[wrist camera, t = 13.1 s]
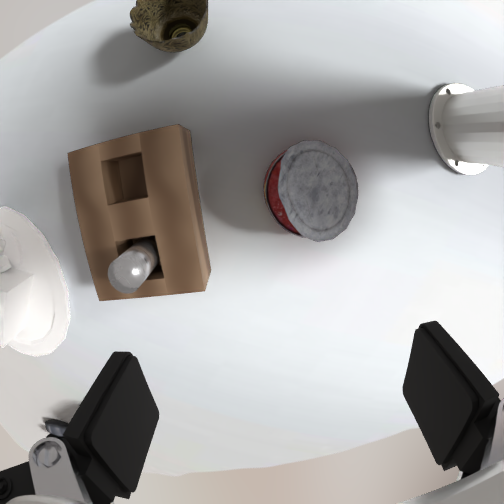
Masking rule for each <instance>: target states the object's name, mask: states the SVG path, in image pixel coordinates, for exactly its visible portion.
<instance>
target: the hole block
mask: <svg viewBox="0 0 504 504" xmlns="http://www.w3.org/2000/svg"><path fill="white" fill-rule="evenodd" d="M68 161H69V169H70V176H71V182H72V189H73V195H74V200H75V206H76V211H77V216H78V221H79V226H80V230H81V235H82V239H83V244H84V248H85V252H86V256H87V260H88V263H89V267H90V271H91V274H92V278H93V281H94V285H95V288H96V292H97V295H98V298H99V301H107V300H119V299H130V298H142V297H152V296H163V295H173V294H183V293H192V292H202V291H205V289H206V286H207V282H208V279H209V276H210V272H211V266H210V261H209V255H208V249H207V243H206V237H205V231H204V225H203V218H202V212H201V206H200V199H199V192H198V186H197V179H196V172H195V165H194V157H193V150H192V142H191V134H190V130H188V129H186V128H184V127H183V126H181V125H179V124H177V125H172V126H167V127H162V128H157V129H153V130H149V131H144V132H140V133H136V134H132V135H128V136H124V137H120V138H116V139H113V140H109V141H106V142H102V143H99V144H95V145H92V146H89V147H85V148H82V149H79V150H76V151H73V152H70V153H68ZM152 235H155V237H156V242H157V247H158V252H159V257H160V262H159V263H158V264H157V266H156V267H155V268H154V269H153V271H152V272H151V273H150V274H149V276H148V277H147V278H146V279H145V281H144V282H143V283H142V284H141V286H140V287H139V288H138V289H137V290H136V291H135V292H133V293H129V294H126V293H121V292H119V291H117V290H116V289H115V288H114V287H113V286H112V285H111V283H110V281H109V278H108V268H109V266H110V264H111V263H112V262H113V261H114V260H115V259H116V258H118V257H119V256H120V255H121V254H123V253H124V252H125V251H126V250H127V249H129V248H130V247H131V246H132V245H134V244H135V243H136V242H137V241H139V240H140V239H141V238H142V237H146V236H152Z"/></svg>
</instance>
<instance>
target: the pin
mask: <svg viewBox="0 0 504 504" xmlns="http://www.w3.org/2000/svg"><path fill="white" fill-rule="evenodd" d="M159 262H160V257H159V252H158V247H157V242H156V237H155V235H152V236H146V237H142V238H141V239H140V240H139V241H137V242H136V243H135V244H134V245H132V246H131V247H130V248H129V249H127V250H126V251H125V252H124V253H123V254H121V255H120V256H119V257H118V258H116V259H115V260H114V261H113V262H112V263H111V264H110V266H109V268H108V278H109V281H110V283H111V285H112V286H113V287H114V288H115V289H116V290H117V291H119V292H121V293H126V294H129V293H133V292H135V291H136V290H137V289H138V288H139V287H140V286H141V284H142V283H143V282H144V281H145V279H146V278H147V277H148V276H149V274H150V273H151V272H152V271H153V269H154V268H155V267H156V266H157V264H158V263H159Z"/></svg>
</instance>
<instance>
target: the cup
mask: <svg viewBox="0 0 504 504" xmlns="http://www.w3.org/2000/svg"><path fill="white" fill-rule="evenodd" d="M130 18H131V20H132V22H131V24H130V26H131V27H132V28H133V29H134V30H135V32H134V33H135V34H136V35H137V36H138V37H140V38H141V39H143V40H144V41H146V42H147V43H149V44H150V45H152V46H154V47H155V48H157V49H159V50H162V51H166V52H179V51H183V50H186V49H188V48H190V47H192V46H194V45H195V44H196V43H197V42H198V41H199V40H200V39H201V38H202V37H203V35H204V33H205V31H206V28H207V23H208V0H137V1H136V6H135V7H133V8H132V10H131V11H130ZM182 32H186V34H184V35H182V36H181V37H177V35H178V34H180V33H182ZM176 37H177V38H176Z"/></svg>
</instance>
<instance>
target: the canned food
mask: <svg viewBox="0 0 504 504" xmlns="http://www.w3.org/2000/svg"><path fill="white" fill-rule="evenodd" d="M264 197H265V200H266V204H267V206H268V208H269V210H270V212H271V214H272V216H273V218H274V219H275V220H276V222H277V223H278V224H279V225H280V226H281V227H282V228H284V229H285V230H286V231H288V232H290V233H292V234H294V235H297V236H300V237H305V238H309V239H311V240H314V241H317V242H320V241H325V240H331V239H334V238H335V237H336V236H338V235H339V234H340V233H341V232H343V231H344V230H345V229H346V228H347V226H348V225H349V223H350V221H351V219H352V218H353V216H354V214H355V209H356V204H357V199H358V183H357V178H356V175H355V173H354V170H353V168H352V166H351V165H350V163H349V162H348V160H347V159H346V158H345V157H344V156H343V155H342V154H341V153H340V152H339V151H338V150H337V149H336V148H334V147H332V146H330V145H327V144H325V143H323V142H321V141H301V142H300V143H298V144H296V145H293V146H291V147H289V149H288V150H286V151H284V152H283V153H281V154H280V155H279V156H277V158H276V159H275V160H274V161H273V162H272V163H271V165H270V167H269V169H268V170H267V173H266V176H265V181H264Z"/></svg>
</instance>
